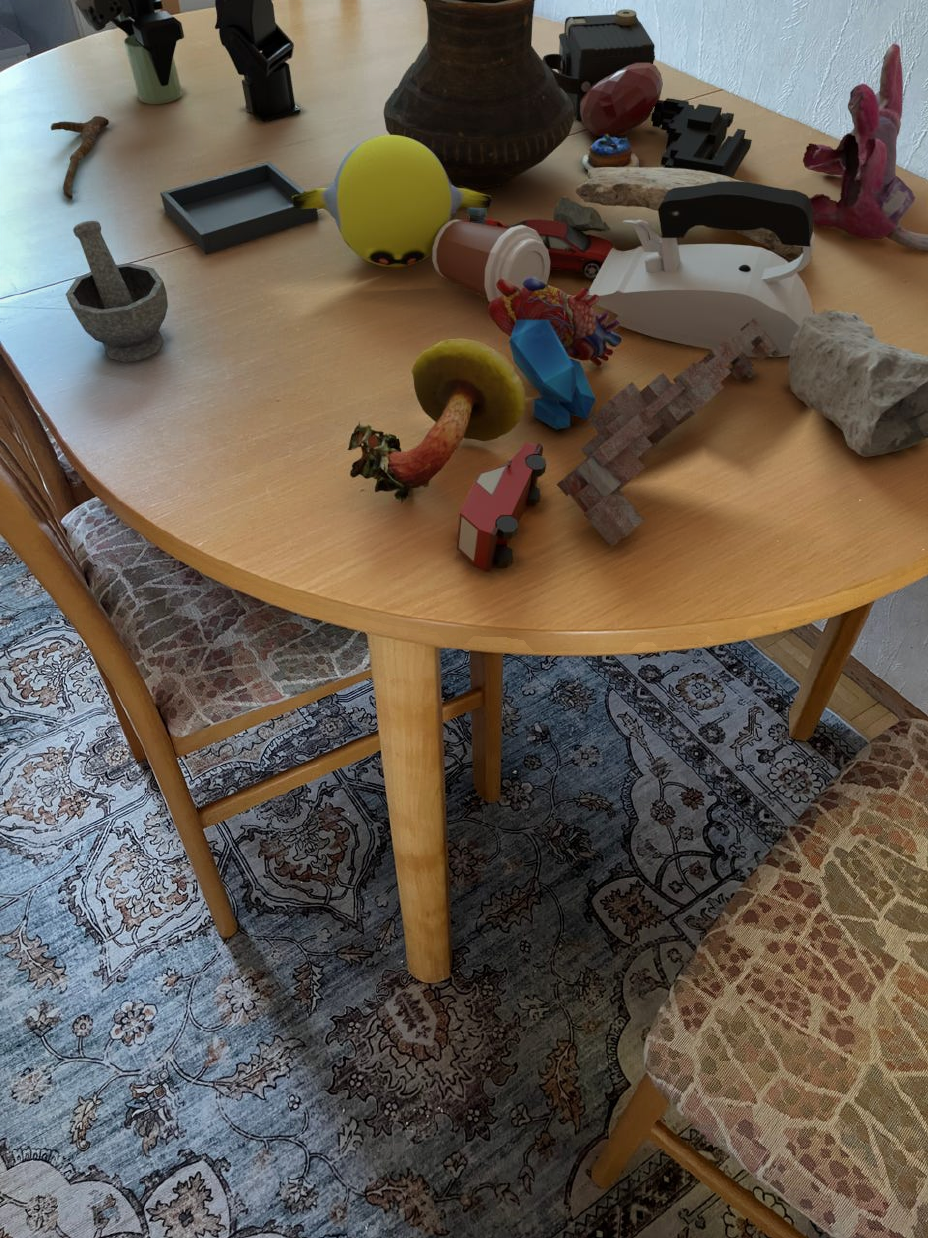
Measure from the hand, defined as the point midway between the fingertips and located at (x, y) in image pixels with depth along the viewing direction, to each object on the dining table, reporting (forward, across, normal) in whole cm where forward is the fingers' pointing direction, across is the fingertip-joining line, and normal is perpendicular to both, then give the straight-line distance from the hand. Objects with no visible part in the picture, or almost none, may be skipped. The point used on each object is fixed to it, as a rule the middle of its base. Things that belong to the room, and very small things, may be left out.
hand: (156, 78), depth 142 cm
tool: (+3, +66, +51) cm, 84 cm away
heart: (-2, +57, +45) cm, 73 cm away
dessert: (+4, +62, +42) cm, 75 cm away
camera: (-3, +45, +60) cm, 75 cm away
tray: (+2, +44, -6) cm, 44 cm away
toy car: (+3, +78, +19) cm, 80 cm away
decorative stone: (-5, +124, +27) cm, 127 cm away
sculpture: (0, +106, +23) cm, 109 cm away
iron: (+3, +96, +26) cm, 100 cm away
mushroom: (-2, +107, -16) cm, 108 cm away
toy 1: (+2, +60, +7) cm, 61 cm away
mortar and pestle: (+3, +64, -28) cm, 70 cm away
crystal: (0, +105, +2) cm, 105 cm away
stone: (-3, +74, +23) cm, 78 cm away
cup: (+2, 0, 0) cm, 2 cm away
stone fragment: (0, +74, +42) cm, 85 cm away
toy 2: (-7, +84, +54) cm, 100 cm away
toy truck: (0, +113, -9) cm, 113 cm away
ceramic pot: (+2, +53, +26) cm, 59 cm away
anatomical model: (-9, +92, +2) cm, 92 cm away
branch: (+3, +16, -17) cm, 24 cm away
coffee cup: (-1, +72, +8) cm, 73 cm away
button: (-3, +67, +15) cm, 69 cm away
